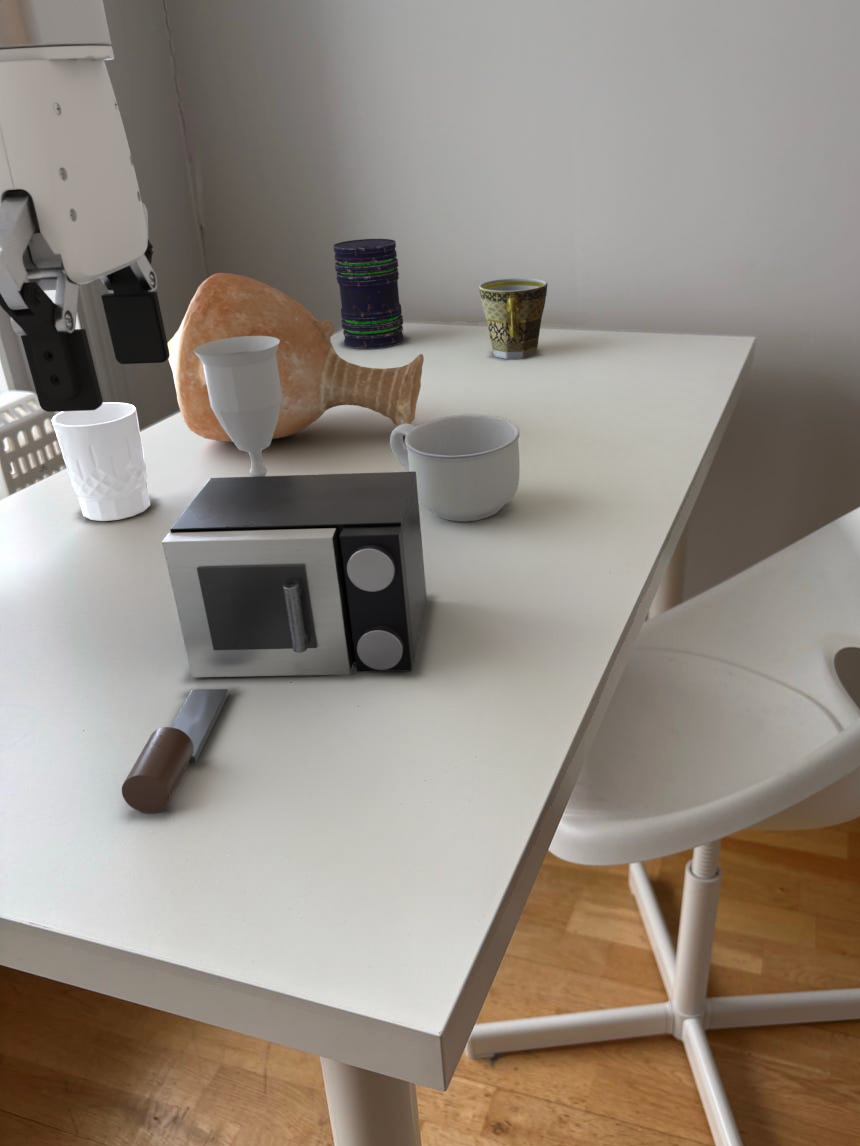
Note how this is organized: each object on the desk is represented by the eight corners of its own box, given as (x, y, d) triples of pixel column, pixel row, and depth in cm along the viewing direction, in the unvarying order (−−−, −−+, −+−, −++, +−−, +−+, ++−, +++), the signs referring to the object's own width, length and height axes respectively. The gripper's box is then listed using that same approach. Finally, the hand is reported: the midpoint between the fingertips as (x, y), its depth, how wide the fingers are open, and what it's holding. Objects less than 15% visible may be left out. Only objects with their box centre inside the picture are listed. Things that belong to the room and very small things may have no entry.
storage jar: (342, 337, 167) (330, 241, 160) (401, 332, 168) (392, 236, 161) (346, 351, 159) (334, 250, 151) (408, 345, 160) (399, 245, 153)
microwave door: (346, 687, 71) (327, 547, 66) (184, 690, 72) (153, 552, 66) (353, 663, 74) (336, 527, 69) (198, 666, 75) (169, 532, 69)
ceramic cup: (483, 347, 157) (480, 279, 152) (548, 344, 156) (546, 276, 151) (480, 368, 145) (476, 296, 140) (549, 366, 145) (548, 293, 140)
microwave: (410, 679, 72) (396, 536, 66) (189, 683, 73) (158, 543, 67) (426, 599, 82) (416, 471, 77) (234, 604, 84) (210, 477, 78)
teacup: (544, 506, 99) (543, 426, 95) (464, 542, 92) (458, 457, 88) (448, 475, 107) (442, 401, 104) (368, 506, 101) (359, 428, 97)
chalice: (249, 562, 91) (213, 360, 82) (218, 539, 95) (181, 346, 87) (321, 539, 94) (294, 344, 85) (288, 519, 99) (259, 332, 90)
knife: (173, 813, 60) (163, 775, 58) (127, 813, 60) (116, 775, 59) (230, 694, 71) (223, 660, 70) (191, 695, 71) (183, 661, 70)
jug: (197, 315, 129) (432, 334, 129) (180, 459, 127) (418, 478, 126) (147, 233, 109) (424, 255, 109) (125, 402, 107) (408, 424, 107)
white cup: (112, 529, 99) (88, 430, 94) (60, 516, 103) (34, 420, 98) (172, 502, 105) (152, 407, 100) (121, 490, 109) (99, 398, 104)
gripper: (37, 39, 56) (110, 349, 65) (-161, 29, 41) (-33, 434, 50) (166, 29, 56) (223, 345, 64) (12, 15, 41) (112, 429, 49)
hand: (111, 383), depth 57 cm, fingers open, 9 cm apart
